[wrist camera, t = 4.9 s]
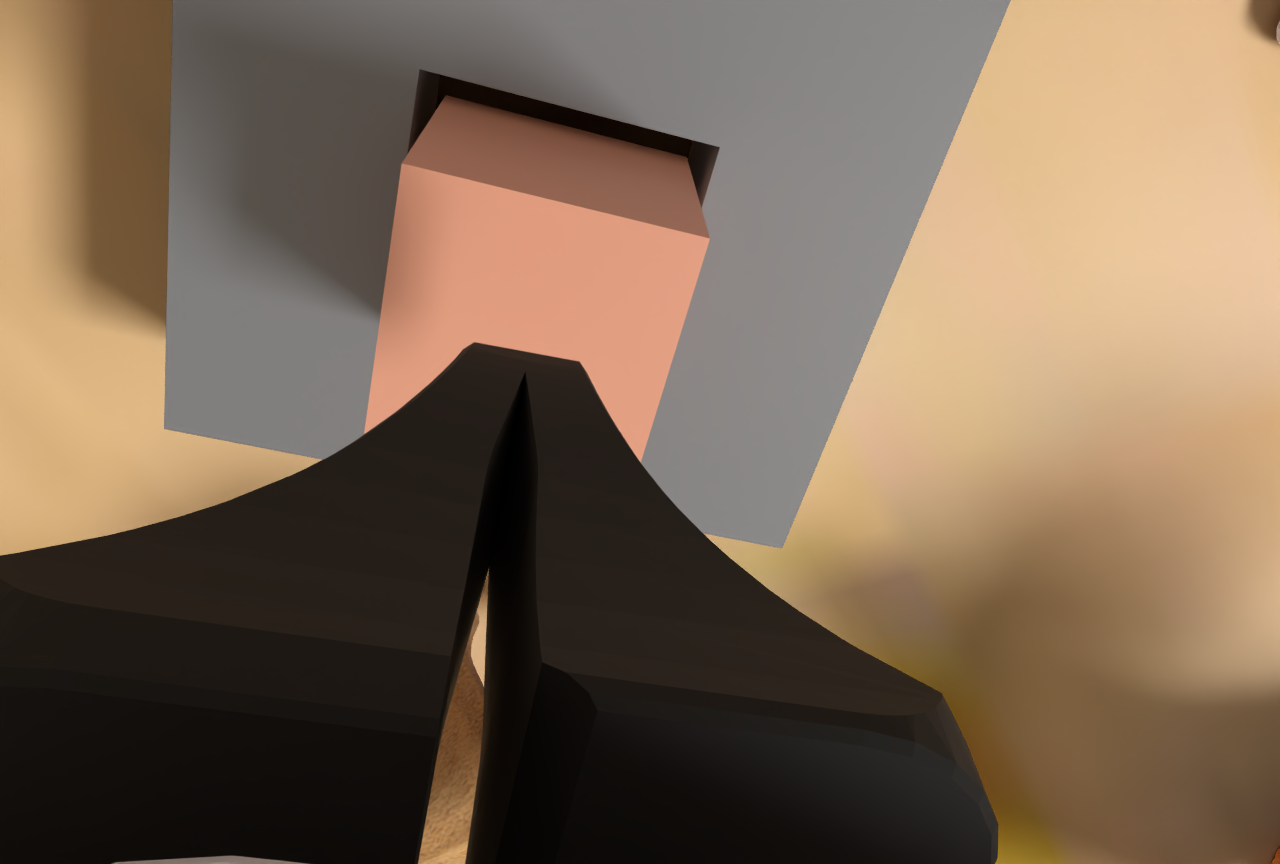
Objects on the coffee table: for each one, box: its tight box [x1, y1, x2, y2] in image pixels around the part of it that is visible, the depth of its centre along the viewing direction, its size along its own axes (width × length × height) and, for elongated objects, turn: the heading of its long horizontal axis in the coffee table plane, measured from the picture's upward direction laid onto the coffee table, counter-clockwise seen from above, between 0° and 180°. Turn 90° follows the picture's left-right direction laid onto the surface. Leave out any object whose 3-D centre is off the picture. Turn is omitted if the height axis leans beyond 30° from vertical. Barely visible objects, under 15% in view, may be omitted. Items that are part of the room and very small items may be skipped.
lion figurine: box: [418, 612, 484, 864], centre depth 21 cm, size 15×5×9 cm, turn 136°
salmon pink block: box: [364, 95, 710, 462], centre depth 15 cm, size 4×4×4 cm
